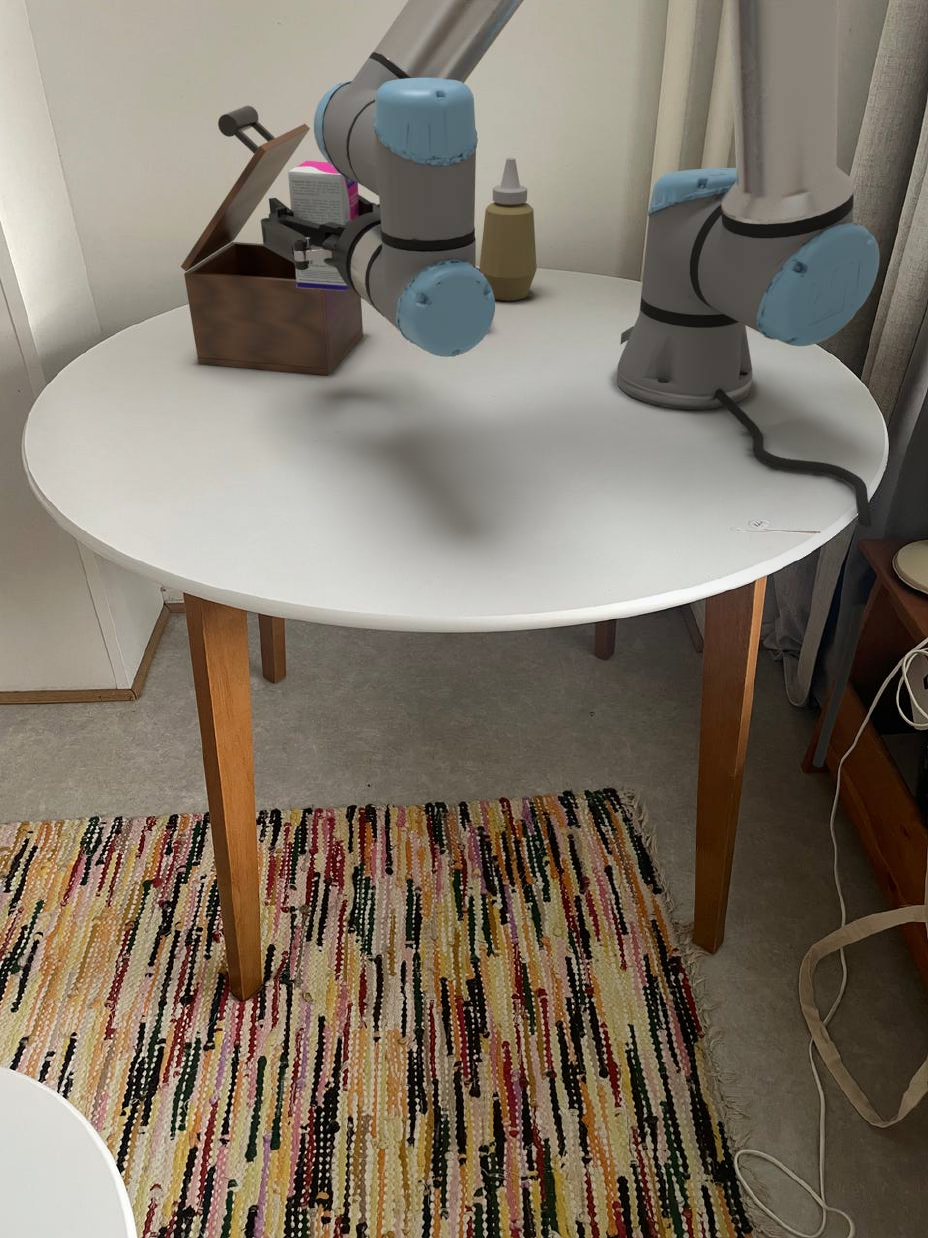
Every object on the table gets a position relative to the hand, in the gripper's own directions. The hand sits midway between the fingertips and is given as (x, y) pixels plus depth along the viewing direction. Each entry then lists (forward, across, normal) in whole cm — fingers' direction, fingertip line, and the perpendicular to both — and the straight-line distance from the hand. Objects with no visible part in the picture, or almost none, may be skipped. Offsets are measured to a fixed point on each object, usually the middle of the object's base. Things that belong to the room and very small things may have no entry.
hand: (312, 207), depth 106 cm
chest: (+11, -2, -19) cm, 22 cm away
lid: (+12, -4, -1) cm, 13 cm away
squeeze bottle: (+18, +33, -19) cm, 42 cm away
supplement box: (-5, 0, -7) cm, 8 cm away
